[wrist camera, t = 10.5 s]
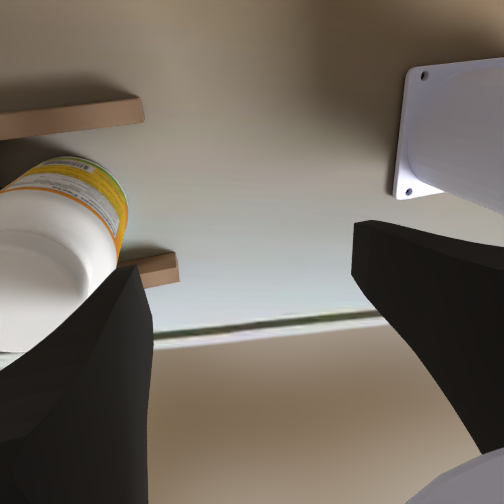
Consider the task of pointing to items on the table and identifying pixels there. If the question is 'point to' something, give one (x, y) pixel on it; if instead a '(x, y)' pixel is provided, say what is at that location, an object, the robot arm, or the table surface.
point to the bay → (84, 118)
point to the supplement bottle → (55, 245)
